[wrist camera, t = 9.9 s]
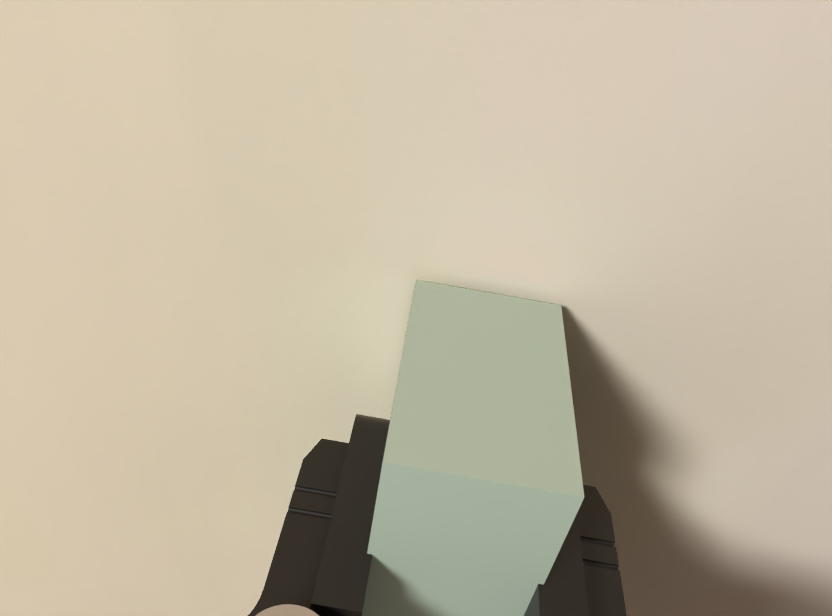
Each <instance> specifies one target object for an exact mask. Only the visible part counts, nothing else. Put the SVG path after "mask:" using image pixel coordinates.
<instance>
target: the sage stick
mask: <svg viewBox="0 0 832 616" xmlns="http://www.w3.org/2000/svg"><path fill="white" fill-rule="evenodd" d="M583 499H584V490H583V481H582V473H581V465H580V456H579V448H578V440H577V432H576V423H575V415H574V407H573V399H572V390H571V382H570V374H569V366H568V357H567V349H566V341H565V332H564V324H563V316H562V308H561V305H556V304H551V303H545V302H539V301H534V300H528V299H522V298H517V297H511V296H505V295H500V294H494V293H488V292H483V291H477V290H471V289H466V288H460V287H454V286H449V285H443V284H437V283H432V282H426V281H420V280H416V283H415V288H414V294H413V299H412V305H411V310H410V316H409V321H408V326H407V332H406V337H405V343H404V348H403V354H402V359H401V365H400V370H399V375H398V381H397V386H396V392H395V397H394V403H393V408H392V413H391V419H390V424H389V430H388V435H387V441H386V446H385V451H384V457H383V462H382V468H381V474H380V480H379V486H378V492H377V498H376V504H375V510H374V515H373V521H372V527H371V533H370V539H369V545H368V551H367V554H372V560H371V565H370V571H369V577H368V583H367V588H366V594H365V600H364V606H363V611H362V616H524V614H525V612H526V610H527V607H528V605H529V603H530V601H531V599H532V596H533V594H534V592H535V590H536V588H537V585H538V584H543V585H544V583H545V581H546V579H547V577H548V574H549V572H550V570H551V568H552V566H553V564H554V562H555V559H556V557H557V555H558V553H559V551H560V549H561V547H562V544H563V542H564V540H565V538H566V536H567V534H568V532H569V529H570V527H571V525H572V523H573V521H574V519H575V517H576V514H577V512H578V510H579V508H580V506H581V504H582V502H583Z"/></svg>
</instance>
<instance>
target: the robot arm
mask: <svg viewBox="0 0 832 616" xmlns="http://www.w3.org/2000/svg"><path fill="white" fill-rule="evenodd" d="M389 424H390V420H386V419H381V418H375V417H369V416H364V415H358V414H357V415H356V418H355V421H354V425H353V430H352V434H351V438H350V442H349V443H344V442H338V441H332V440H327V439H321V440H320V441H319V442H318V444H317V445H316V446H315V447H314V448H313V449H312V450H311V451H310V452H309V454H308V455H307V456H306V457H305V458H304V459H303V462H302V465H301V469H300V472H299V475H298V478H297V482H296V485H295V490H294V491H293V495H292V498H291V501H290V505H289V509H288V512H287V514H286V518H285V521H284V524H283V527H282V531H281V534H280V537H279V540H278V544H277V547H276V550H275V553H274V557H273V560H272V563H271V566H270V570H269V573H268V576H267V580H266V583H265V586H264V589H263V592H262V595H261V597H260V599H259V601H258V603H257V605H256V606H255V608H254V609H253V610H252V612H251V613H250V614H249V615H248V616H362V611H363V606H364V600H365V594H366V588H367V583H368V577H369V571H370V565H371V560H372V554H367V551H368V545H369V539H370V533H371V527H372V521H373V515H374V510H375V504H376V498H377V492H378V486H379V480H380V474H381V468H382V462H383V457H384V451H385V446H386V441H387V435H388V430H389ZM583 490H584V499H583V502H582V504H581V506H580V508H579V510H578V512H577V514H576V517H575V519H574V521H573V523H572V525H571V527H570V529H569V532H568V534H567V536H566V538H565V540H564V542H563V544H562V547H561V549H560V551H559V553H558V555H557V557H556V559H555V562H554V564H553V566H552V568H551V570H550V572H549V574H548V577H547V579H546V581H545V583H544V585H543V584H538V585H537V588H536V590H535V592H534V594H533V596H532V599H531V601H530V603H529V605H528V607H527V610H526V612H525V614H524V616H626V610H625V603H624V597H623V590H622V584H621V578H620V571H618V558H617V552H616V547H614V543H615V539H614V532H613V526H612V519H611V513H610V512H609V510H608V508H607V507H606V505H605V503H604V501H603V500H602V498H601V496H600V494H599V493H598V491H597V489H596V488H595V487H592V486H586V485H583Z"/></svg>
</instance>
